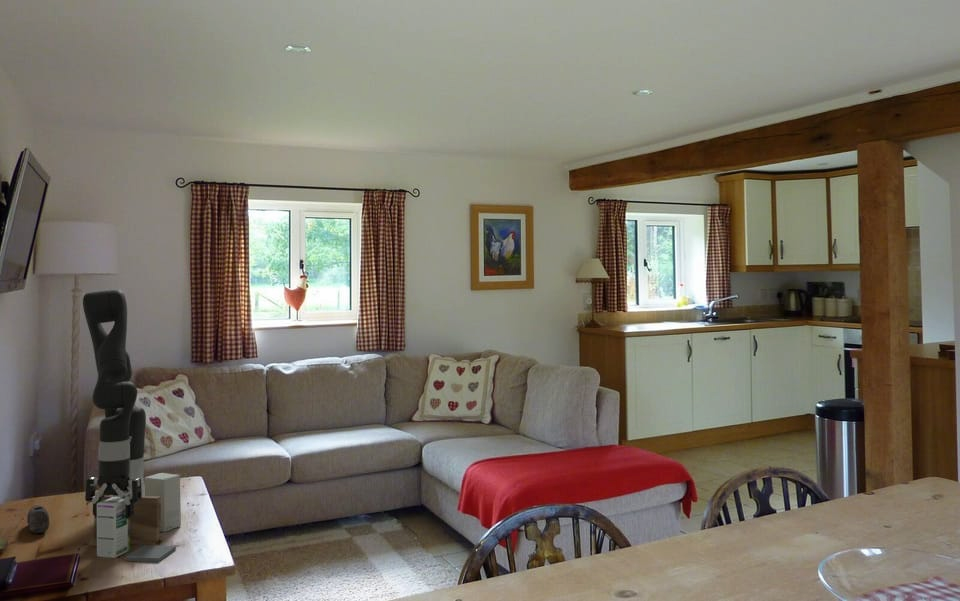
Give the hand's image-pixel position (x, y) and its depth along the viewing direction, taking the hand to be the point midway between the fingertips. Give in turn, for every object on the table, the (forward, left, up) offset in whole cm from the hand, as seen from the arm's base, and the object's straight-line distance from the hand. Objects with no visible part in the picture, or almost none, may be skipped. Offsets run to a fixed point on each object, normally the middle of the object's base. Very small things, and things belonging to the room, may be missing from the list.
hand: (113, 517), depth 189 cm
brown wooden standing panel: (-9, -1, -10) cm, 13 cm away
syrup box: (0, 0, -10) cm, 10 cm away
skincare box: (-22, +2, -10) cm, 24 cm away
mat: (0, +10, -10) cm, 14 cm away
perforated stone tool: (-17, -33, -10) cm, 39 cm away
